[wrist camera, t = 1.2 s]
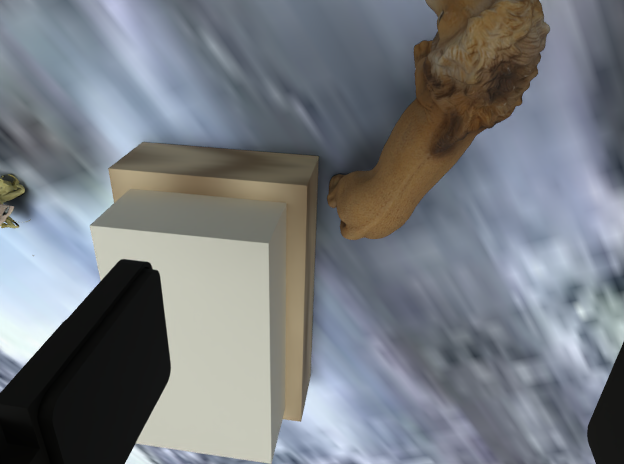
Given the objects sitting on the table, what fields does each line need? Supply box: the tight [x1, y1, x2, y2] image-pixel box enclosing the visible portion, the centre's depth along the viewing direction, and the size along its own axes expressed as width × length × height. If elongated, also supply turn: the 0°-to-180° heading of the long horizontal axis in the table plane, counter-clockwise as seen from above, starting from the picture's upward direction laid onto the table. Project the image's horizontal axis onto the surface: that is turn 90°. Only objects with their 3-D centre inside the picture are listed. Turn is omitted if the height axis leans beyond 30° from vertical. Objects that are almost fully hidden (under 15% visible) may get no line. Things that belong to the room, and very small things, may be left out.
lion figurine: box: [327, 0, 550, 240], centre depth 23 cm, size 15×5×9 cm, turn 159°
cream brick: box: [90, 189, 286, 464], centre depth 28 cm, size 8×14×4 cm, turn 179°
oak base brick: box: [108, 142, 319, 422], centre depth 31 cm, size 10×16×4 cm, turn 178°
